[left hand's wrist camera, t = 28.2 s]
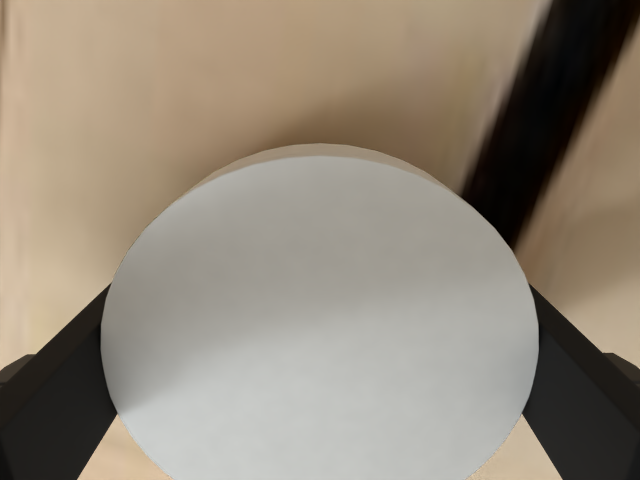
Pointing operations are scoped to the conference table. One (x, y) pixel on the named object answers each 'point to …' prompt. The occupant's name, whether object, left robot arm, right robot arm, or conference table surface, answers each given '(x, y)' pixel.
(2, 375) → the left robot arm
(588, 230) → the conference table surface
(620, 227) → the conference table surface
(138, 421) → the lid
